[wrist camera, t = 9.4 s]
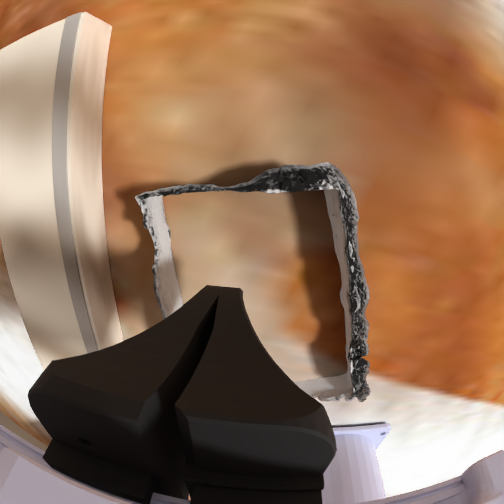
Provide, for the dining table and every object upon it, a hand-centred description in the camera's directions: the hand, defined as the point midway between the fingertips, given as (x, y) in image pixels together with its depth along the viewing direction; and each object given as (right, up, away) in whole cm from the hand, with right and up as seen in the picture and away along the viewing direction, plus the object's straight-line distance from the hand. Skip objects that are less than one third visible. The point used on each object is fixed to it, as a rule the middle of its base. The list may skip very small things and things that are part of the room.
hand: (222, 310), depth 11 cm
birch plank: (-9, +3, +3) cm, 10 cm away
